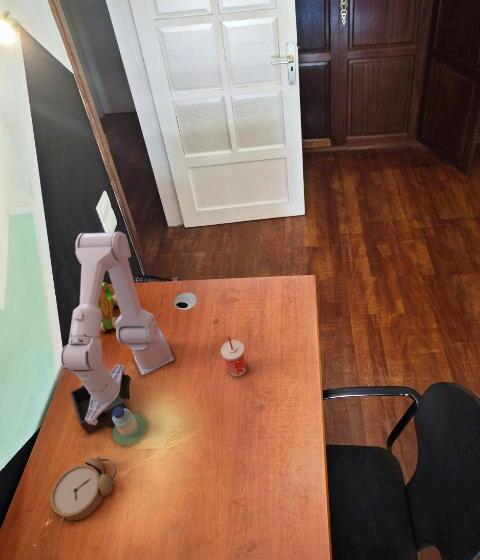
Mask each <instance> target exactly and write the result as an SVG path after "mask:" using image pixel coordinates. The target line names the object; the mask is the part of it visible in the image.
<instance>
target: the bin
mask: <svg viewBox="0 0 480 560" xmlns="http://www.w3.org/2000/svg"><path fill="white" fill-rule="evenodd" d="M69 394H70V396H71V400H72V403H73V406H74V409H75V412H76V416H77V419H78V423H79V425H80V426H81V428H82V429H83V430H84V431H85V433H86V434H87V435H90V434H91V433H93V432H96V431H97V430H99V429H101V428H103V427H106V426H105V425H103V424H101V423H99V422H97V424H96V425H93V424H88V423H87V421H86V420H85V418H86V414H87V412H88V409H89V404H90V399H91V395H90V394H89V392H88V390H87V389H86V388H85V386H84V385H83V384H82V385H81V386H78V387H77V388H75V389H72V390H71V391H69ZM116 407H122V408H123V409H128V410H130V409H129V407H128V404H127V402H126V399H122V398H121V397H120V396H119V395H118V396H117V397H116V399H115V400H114V401H113V402H112V403H111V404H110V405H109V406H108V407H107V408H106V409H105V410H104V411H105V412H106V413H111V414H112V417H113V410H114V409H115V408H116Z"/></svg>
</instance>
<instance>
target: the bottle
mask: <svg viewBox="0 0 480 560" xmlns="http://www.w3.org/2000/svg"><path fill="white" fill-rule="evenodd" d="M128 409H129V408H128ZM128 409H123V408H122V407H116V408H115V409H114V410H113V417H112V420H113V422H114V423H115V427H116V428H117V430H118V431H119V432H120V434H121V435H122V436H123V437H131V436H133V435H134V434H136V432H137V431H138V427H139V426H138V423H137V421H136V420H135V418H134V416H133V415H132V414H133V413H132V411H131V410H130V409H129V410H128Z"/></svg>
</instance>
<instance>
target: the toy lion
mask: <svg viewBox="0 0 480 560" xmlns="http://www.w3.org/2000/svg"><path fill="white" fill-rule="evenodd" d="M115 306H116V307H117V306H118V307H119V305H118V302H117V299H116V295H115V293H114V294H113V291H112V289H111V288H110V286H109V284H108V283H107V282H103V283H102V287H101V292H100V297H99V301H98V308H99V309H100V311H101V312H102V317H101V325H100V332H101V333H105V332H107V331H108V330H112V329H114V330H116V326H115V323H116V320H117V318H118V316H114V307H115Z"/></svg>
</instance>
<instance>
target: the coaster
mask: <svg viewBox="0 0 480 560" xmlns="http://www.w3.org/2000/svg"><path fill="white" fill-rule="evenodd" d="M132 415H133V416H134V418H135V420H136V421H137V423H138V426H139V427H138V431H137V432H136V434H134V435H133V436H131V437H123V436H122V435H121V434H120V432H119V431H118V430H117V428H116V427H115V428H114V429H113V428H112V439H113V441H114V442H115V443H116V444H118V445H120V446H129V445H132V444H135V443H137V442H138V441H139V440H140V439H142V437H143V436H144V434H146V432H147V426H148V422H147V419H146V418H145V416H143V415H142V414H140V413H135V412H134V413H132Z"/></svg>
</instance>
